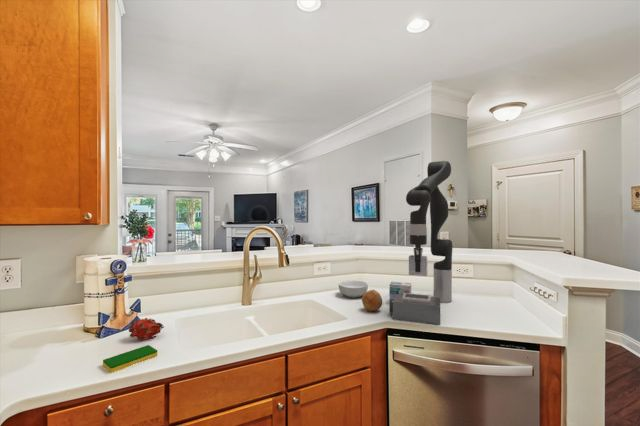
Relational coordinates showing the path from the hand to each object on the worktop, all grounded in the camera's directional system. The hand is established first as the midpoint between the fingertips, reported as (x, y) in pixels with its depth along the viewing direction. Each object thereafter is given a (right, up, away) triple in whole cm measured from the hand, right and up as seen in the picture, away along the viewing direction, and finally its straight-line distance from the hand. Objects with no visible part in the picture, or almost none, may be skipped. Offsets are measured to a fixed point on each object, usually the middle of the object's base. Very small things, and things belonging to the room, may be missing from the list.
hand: (418, 270), depth 140 cm
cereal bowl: (-26, -21, +35) cm, 49 cm away
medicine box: (0, -2, 0) cm, 2 cm away
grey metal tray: (-1, -21, 0) cm, 21 cm away
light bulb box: (-3, -21, +20) cm, 30 cm away
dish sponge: (-107, -23, -40) cm, 117 cm away
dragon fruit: (-112, -22, -22) cm, 117 cm away
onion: (-20, -22, +10) cm, 31 cm away
